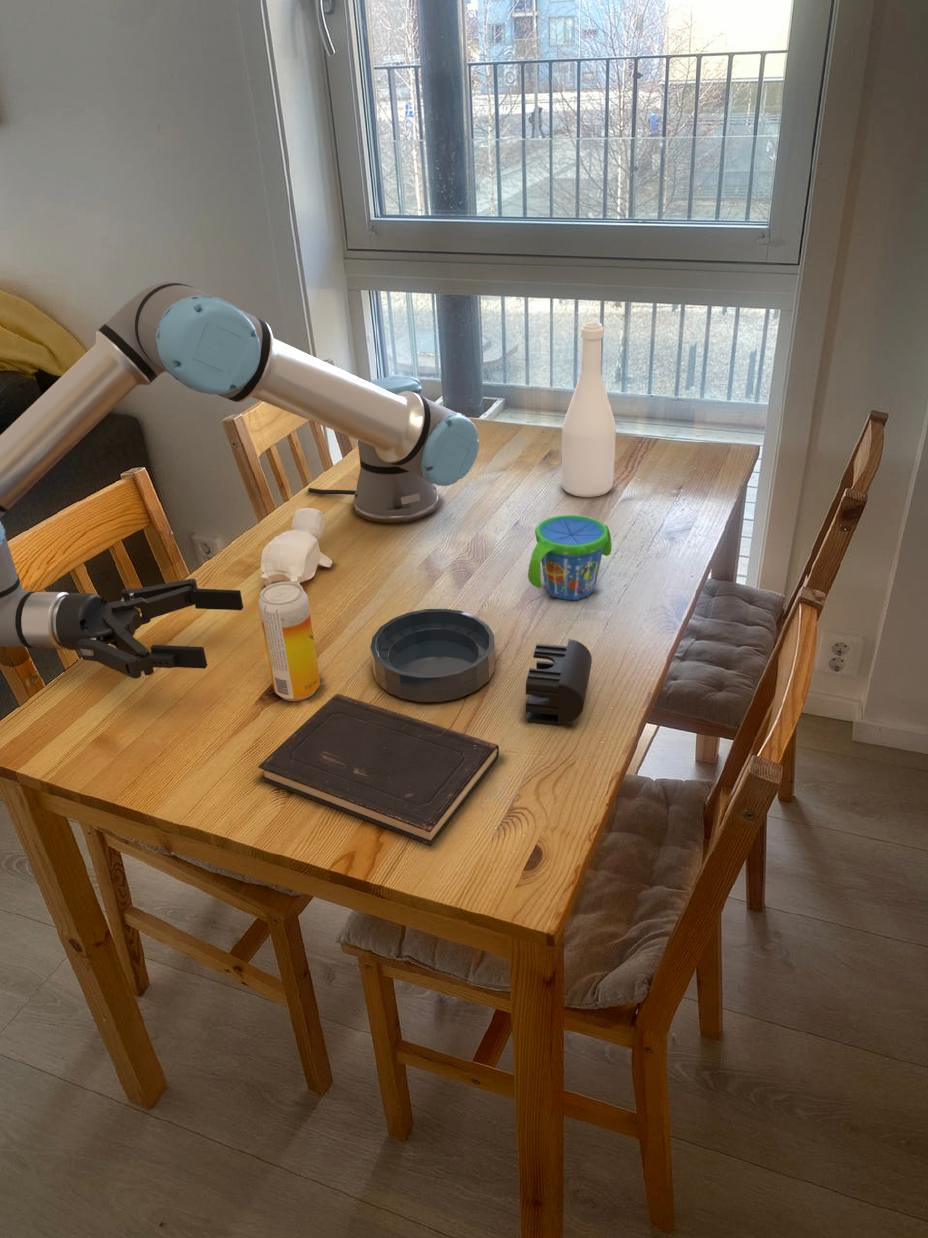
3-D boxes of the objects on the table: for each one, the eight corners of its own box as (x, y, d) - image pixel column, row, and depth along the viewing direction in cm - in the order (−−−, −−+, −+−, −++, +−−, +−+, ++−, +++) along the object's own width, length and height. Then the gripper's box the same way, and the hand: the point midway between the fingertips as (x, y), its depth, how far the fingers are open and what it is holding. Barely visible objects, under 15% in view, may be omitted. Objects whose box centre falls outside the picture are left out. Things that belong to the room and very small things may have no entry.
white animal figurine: (314, 606, 149) (345, 535, 157) (298, 572, 142) (332, 499, 150) (265, 599, 151) (299, 529, 159) (247, 565, 144) (284, 494, 152)
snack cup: (587, 561, 151) (589, 503, 146) (632, 587, 144) (635, 527, 138) (508, 591, 144) (507, 531, 139) (551, 620, 137) (551, 558, 131)
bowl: (348, 678, 127) (345, 650, 124) (426, 623, 138) (424, 596, 135) (444, 721, 118) (442, 692, 116) (519, 659, 129) (518, 631, 126)
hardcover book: (430, 846, 100) (429, 830, 99) (261, 780, 110) (258, 765, 109) (499, 757, 112) (499, 742, 111) (340, 705, 122) (338, 690, 120)
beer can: (328, 680, 126) (314, 583, 118) (307, 707, 122) (292, 607, 114) (288, 673, 128) (271, 577, 120) (266, 699, 123) (247, 600, 115)
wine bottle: (583, 473, 181) (588, 313, 165) (623, 486, 175) (632, 322, 159) (550, 489, 175) (552, 325, 159) (590, 503, 169) (596, 335, 153)
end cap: (582, 731, 115) (584, 686, 112) (525, 724, 117) (525, 680, 113) (591, 683, 124) (592, 640, 120) (537, 678, 125) (537, 635, 121)
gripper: (117, 597, 136) (258, 602, 133) (27, 701, 115) (192, 710, 113) (104, 551, 132) (250, 555, 129) (9, 650, 111) (180, 658, 109)
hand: (223, 627), depth 121 cm, fingers open, 13 cm apart
